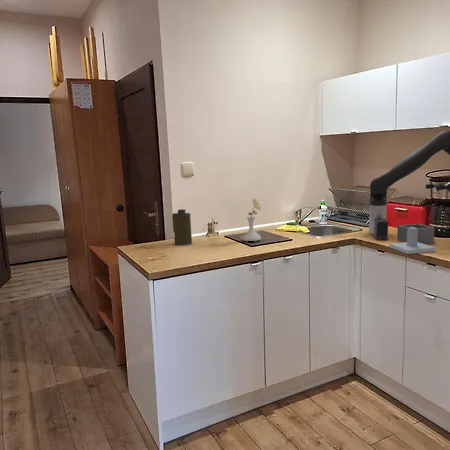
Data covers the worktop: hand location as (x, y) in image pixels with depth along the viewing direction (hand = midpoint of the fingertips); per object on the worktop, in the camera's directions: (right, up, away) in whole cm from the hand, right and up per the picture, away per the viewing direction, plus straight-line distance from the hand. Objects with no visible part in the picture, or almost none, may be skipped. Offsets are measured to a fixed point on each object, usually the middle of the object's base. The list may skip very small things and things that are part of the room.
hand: (431, 187), depth 217 cm
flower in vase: (-89, -29, +33) cm, 99 cm away
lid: (-11, -31, -3) cm, 34 cm away
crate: (-2, -28, +15) cm, 32 cm away
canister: (-129, -30, +33) cm, 137 cm away
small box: (-16, -27, +26) cm, 41 cm away
